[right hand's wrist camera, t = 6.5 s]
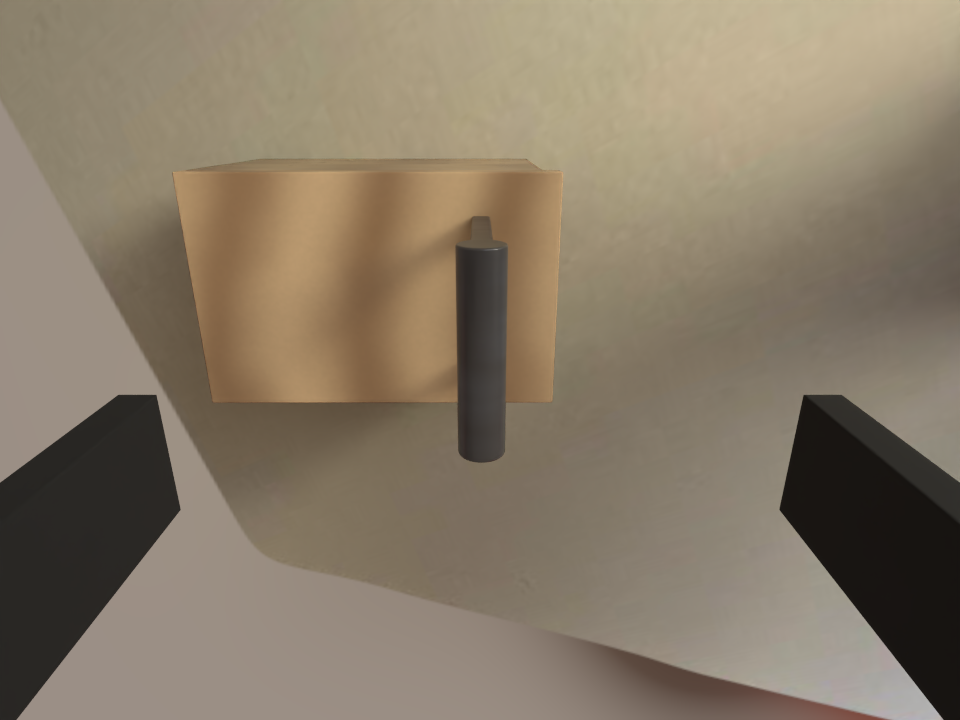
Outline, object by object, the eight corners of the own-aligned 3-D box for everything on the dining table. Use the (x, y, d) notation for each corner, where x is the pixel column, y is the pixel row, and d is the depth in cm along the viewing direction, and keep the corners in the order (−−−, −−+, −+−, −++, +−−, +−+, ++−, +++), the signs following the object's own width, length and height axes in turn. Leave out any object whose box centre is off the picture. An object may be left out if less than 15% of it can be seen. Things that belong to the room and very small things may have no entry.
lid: (560, 170, 23) (600, 192, 16) (550, 394, 27) (579, 503, 19) (182, 170, 23) (34, 192, 16) (220, 394, 27) (114, 503, 19)
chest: (527, 159, 32) (543, 170, 24) (522, 331, 35) (535, 393, 27) (259, 158, 32) (183, 170, 24) (281, 331, 35) (221, 393, 27)
